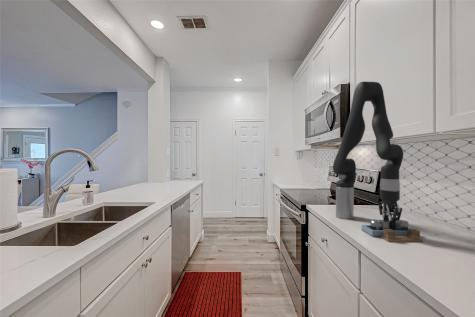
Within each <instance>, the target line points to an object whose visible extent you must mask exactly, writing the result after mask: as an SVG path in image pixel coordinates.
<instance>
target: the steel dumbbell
mask: <svg viewBox="0 0 475 317" xmlns="http://www.w3.org/2000/svg"><path fill="white" fill-rule="evenodd" d="M369 225H370V228H371V229H373V230H383V229H390V219H389V220H383V219H370V224H369ZM408 227H409V221H408V220H405V219H404V220H403V219H400V220H397V221H396V228H395V229H392V230H407V229H408Z"/></svg>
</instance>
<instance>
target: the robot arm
mask: <svg viewBox="0 0 475 317" xmlns="http://www.w3.org/2000/svg"><path fill="white" fill-rule="evenodd" d="M355 86H356V87H355V89H354V91H353V96H352V102H351V106H350V112H349V114H348V119H347V122H346V124H345V129H344V132H343V136H342V140H341V142H340V146H339V148H338V151H337V152H336V153H337V154H336V155H335V158H334V161H333V164H332V171H333V173H334V174H335V175H338V176H340V175H341V176H343V177H342V178H341V179H339V180H337V181H336V182H335V217H336V218H339V219H344V220H351V219H354V208H355V205H354V203H355V202H354V201H355V193H354V192H355V190H354V189H355V183H356V182H355V181H356V174H357V173H356V170H357V166H356V161H355V160H354V159H353V158H347V157H348V156H349V154H350V152H352V150H354V149H355V148H356V147H357V146H358V145H359V144H360V142H361V141H362V139H363V137H364V135H365V130H366V122H365V119H364V115H363V114H364V112H363V110H364V107H365V103H366V102H370V103H371V104H372V107H373V114H372V119H371V128H372V132H373V133H374V136H375V149H376V154H377V156H378V158H380V159H381V160H384V161H386V163H385V165H382V166H381V168H380V181H379V199H380V200H381V201H378V203H377V204H378V212H379V215H380V216H381V217H382V220H390V229H395V228H396V221H397V220H401V215H402V212H403V208H402V207H399V204H398V201H400V199H401V195H400V194H401V193H400V192H401V184H400V169H401V165H402V163H403V159H404V150H403V148H402V146H401V145H399V144H392V143H391V140H392V139H393V137H394V131H393V129H392V126H391V123H390V121H389V118H388V113H387V108H386V102H385V94H384V90H383V86H382V84H381V83H379V82H377V81H360V82H359V83H358V84H357V85H355Z"/></svg>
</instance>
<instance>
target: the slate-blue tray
mask: <svg viewBox="0 0 475 317" xmlns="http://www.w3.org/2000/svg"><path fill="white" fill-rule="evenodd" d="M370 225H371V224H361V231H362V232H363V233H365V234H367V235H369V236H371V237H372V238H381V236H383V230H373V229H371V228H370ZM408 229H414V228H413V227H410V226H408ZM394 231H395V236H407V230H394Z"/></svg>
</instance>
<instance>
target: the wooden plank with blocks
mask: <svg viewBox="0 0 475 317" xmlns="http://www.w3.org/2000/svg"><path fill="white" fill-rule="evenodd" d="M420 235H421V231H420V230H418V229H415V228H413V229H407V236H395V231H394V230H392V229H383V236H381V237H380V238H381V239H382V240H383V241H386V242H388V243H389V242H390V243H423V242H424V240H423V239H421V237H420Z"/></svg>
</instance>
